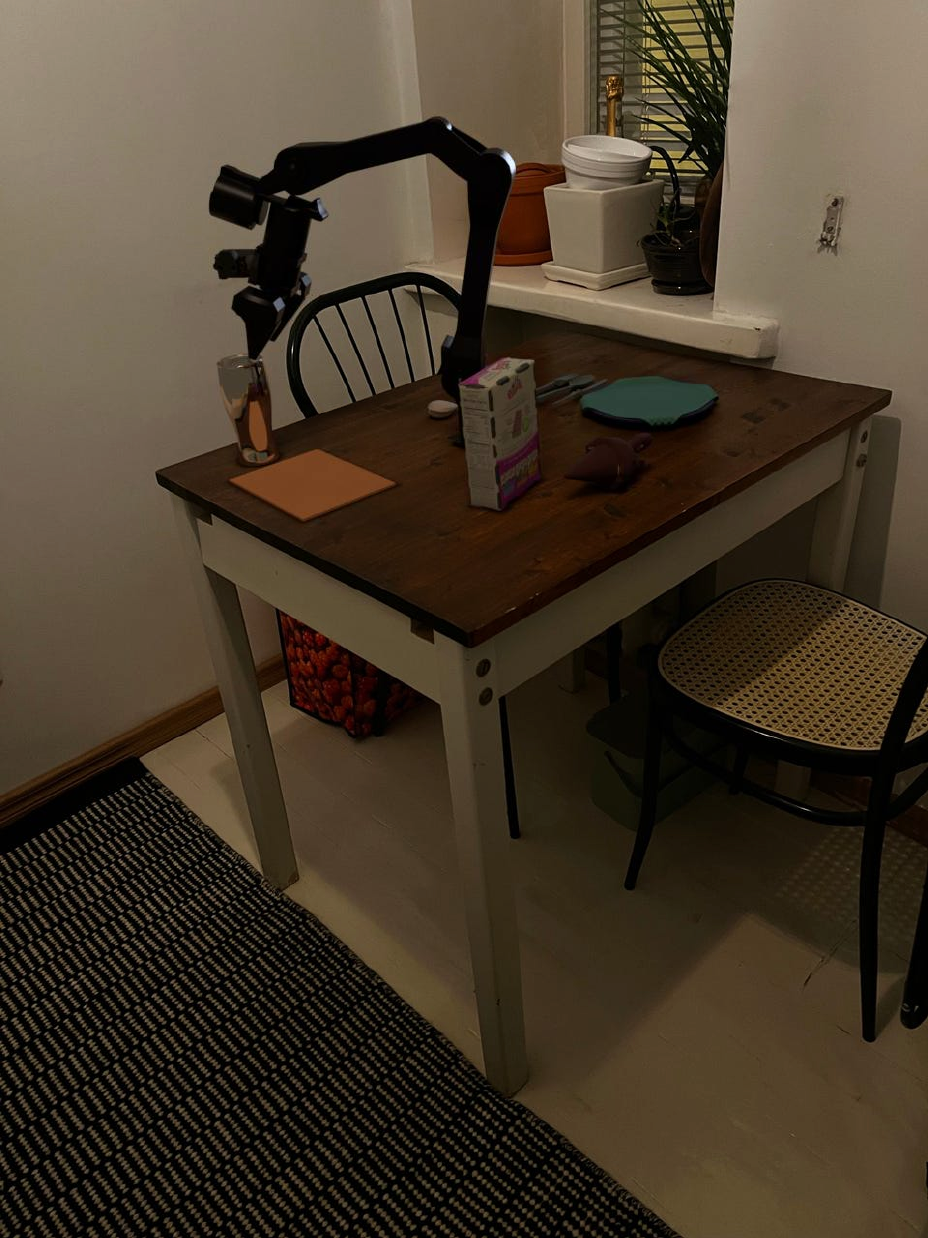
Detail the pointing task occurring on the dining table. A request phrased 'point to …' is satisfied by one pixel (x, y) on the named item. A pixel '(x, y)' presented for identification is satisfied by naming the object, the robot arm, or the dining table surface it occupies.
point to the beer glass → (249, 407)
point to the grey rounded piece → (441, 408)
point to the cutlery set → (637, 398)
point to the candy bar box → (500, 432)
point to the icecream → (610, 461)
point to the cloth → (311, 484)
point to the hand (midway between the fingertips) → (262, 349)
